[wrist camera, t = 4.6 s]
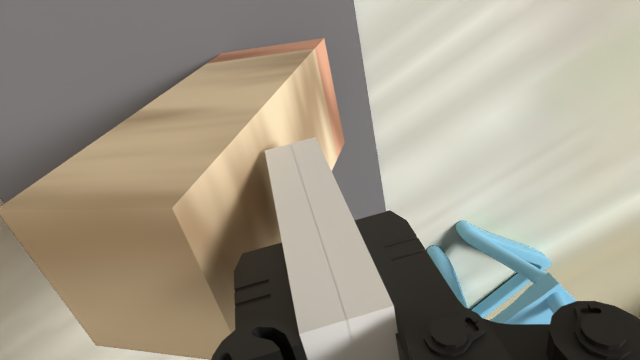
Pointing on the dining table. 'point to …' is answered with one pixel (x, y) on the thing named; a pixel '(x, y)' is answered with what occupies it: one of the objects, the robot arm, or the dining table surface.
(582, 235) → the dining table surface
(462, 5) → the dining table surface
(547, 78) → the dining table surface
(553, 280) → the chair
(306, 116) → the wood block
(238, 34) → the mat
